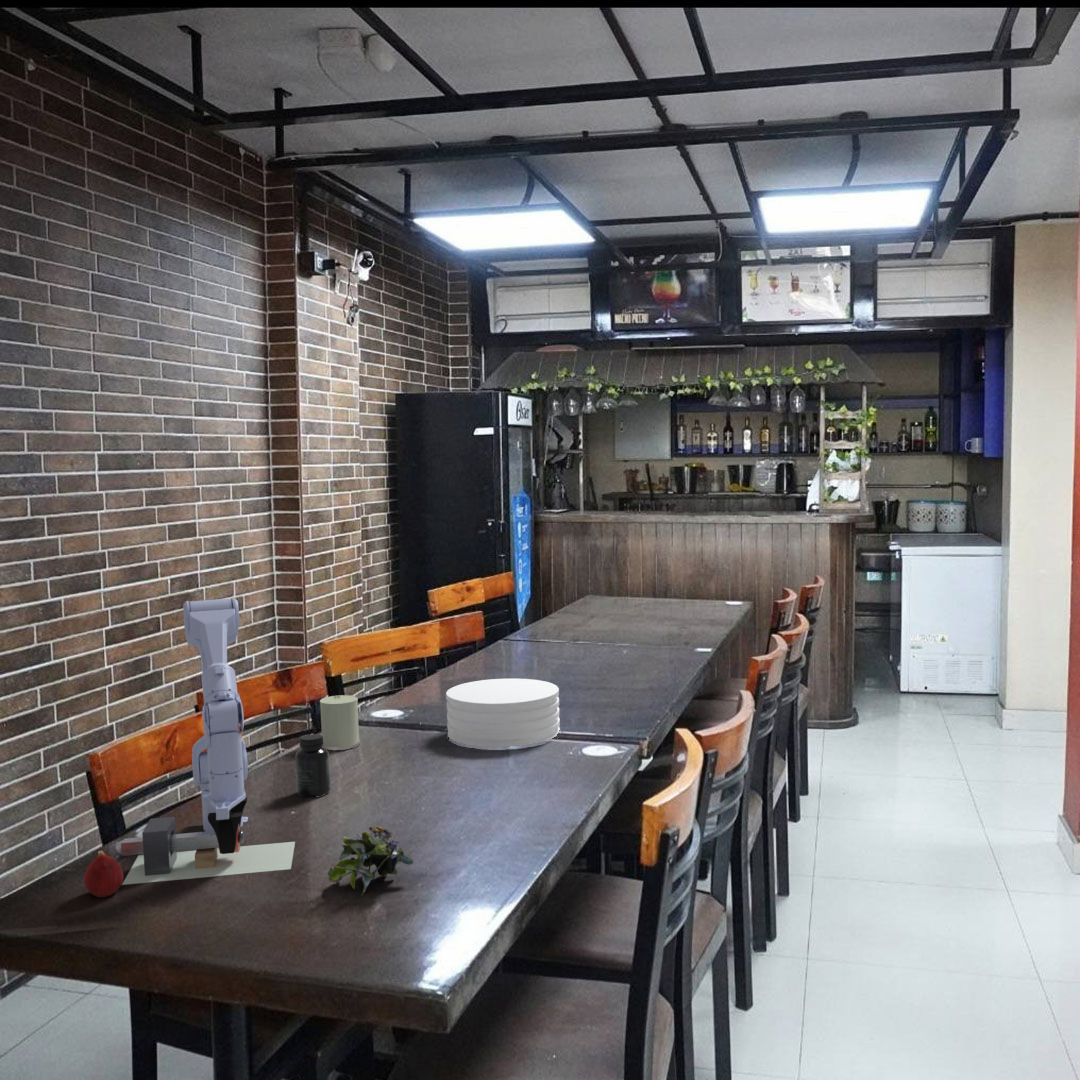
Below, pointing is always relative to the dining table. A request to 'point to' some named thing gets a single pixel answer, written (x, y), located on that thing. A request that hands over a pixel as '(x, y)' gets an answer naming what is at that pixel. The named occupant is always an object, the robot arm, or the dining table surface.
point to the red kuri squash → (103, 876)
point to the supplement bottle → (312, 767)
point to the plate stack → (503, 712)
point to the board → (220, 863)
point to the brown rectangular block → (205, 858)
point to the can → (339, 720)
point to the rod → (179, 842)
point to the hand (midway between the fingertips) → (230, 846)
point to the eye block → (158, 846)
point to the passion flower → (368, 857)
